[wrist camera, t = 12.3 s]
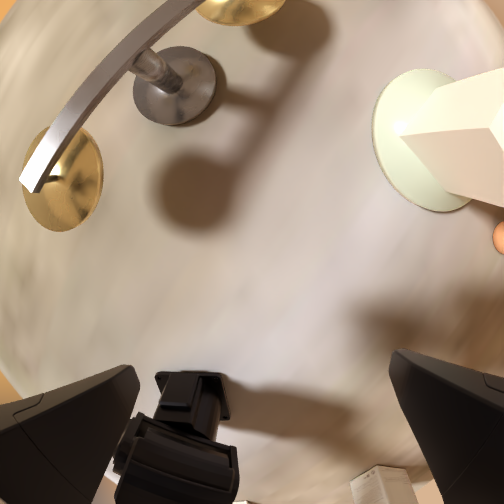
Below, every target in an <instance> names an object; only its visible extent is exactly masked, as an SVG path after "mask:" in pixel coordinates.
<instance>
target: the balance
mask: <svg viewBox="0 0 504 504" xmlns="http://www.w3.org/2000/svg"><path fill="white" fill-rule="evenodd" d="M284 2H285V0H168V1H166V2H165V3H164V4H163V5H161V6H160V7H159V8H158V9H156V10H155V11H154V12H153V13H152V14H150V15H149V16H148V17H147V18H146V19H145V20H143V21H142V22H141V23H140V24H139V25H138V26H137V27H136V28H134V29H133V30H132V31H131V32H130V33H129V34H128V35H127V36H126V37H125V38H124V39H123V40H122V41H121V42H120V43H119V44H118V45H117V46H116V47H115V48H114V49H113V50H112V51H111V52H110V53H109V54H108V55H107V56H106V57H105V58H104V59H103V60H102V62H101V63H100V64H99V65H98V66H97V67H96V68H95V69H94V70H93V72H92V73H91V74H90V75H89V76H88V77H87V79H86V80H85V81H84V82H83V83H82V85H81V86H80V87H79V88H78V90H77V91H76V92H75V93H74V95H73V96H72V97H71V99H70V100H69V101H68V103H67V104H66V105H65V107H64V108H63V109H62V111H61V112H60V113H59V115H58V116H57V118H56V119H55V121H54V122H53V123H52V125H51V126H49V127H47V128H45V129H44V130H43V131H41V132H40V133H39V134H38V135H37V137H36V138H35V139H34V140H33V142H32V143H31V145H30V147H29V149H28V151H27V154H26V156H25V160H24V164H23V170H22V175H21V177H20V179H19V180H20V181H21V182H22V188H23V194H24V198H25V202H26V204H27V207H28V209H29V211H30V213H31V214H32V216H33V217H34V218H35V219H36V221H37V222H38V223H39V224H41V225H42V226H43V227H45V228H47V229H49V230H52V231H56V232H63V231H68V230H70V229H73V228H75V227H77V226H79V225H81V224H82V223H84V222H85V221H86V220H87V219H88V218H89V217H90V216H91V214H92V213H93V211H94V210H95V208H96V206H97V204H98V202H99V199H100V196H101V192H102V187H103V175H104V172H103V162H102V157H101V154H100V150H99V148H98V146H97V144H96V142H95V140H94V139H93V137H92V136H91V135H90V134H89V133H88V132H87V131H86V130H85V129H83V128H82V127H81V126H82V125H83V124H84V122H85V121H86V120H87V118H88V117H89V116H90V114H91V113H92V112H93V111H94V109H95V108H96V107H97V105H98V104H99V103H100V102H101V100H102V99H103V98H104V97H105V96H106V94H107V93H108V92H109V91H110V90H111V89H112V87H113V86H114V85H115V84H116V83H117V82H118V81H119V79H120V78H121V77H122V76H123V75H124V74H125V73H126V72H127V71H130V72H132V73H134V74H135V75H136V78H135V81H134V86H133V97H134V101H135V104H136V106H137V108H138V110H139V111H140V112H141V114H142V115H144V116H145V117H146V118H148V119H149V120H151V121H153V122H156V123H160V124H163V125H178V124H182V123H186V122H188V121H190V120H192V119H194V118H196V117H197V116H199V115H200V114H201V113H202V112H203V111H204V110H205V109H206V108H207V107H208V105H209V104H210V102H211V100H212V99H213V96H214V94H215V90H216V84H217V81H216V73H215V70H214V68H213V66H212V64H211V63H210V61H209V60H208V58H207V57H206V56H205V55H204V54H202V53H201V52H200V51H198V50H196V49H193V48H190V47H184V46H177V47H170V48H167V49H164V50H161V51H159V52H157V53H155V52H154V51H153V50H152V49H150V47H151V46H152V45H153V44H155V43H156V42H157V41H158V40H159V39H160V38H161V37H162V36H163V35H164V34H165V33H167V32H168V31H169V30H170V29H171V28H172V27H173V26H175V25H176V24H177V23H178V22H179V21H181V20H182V19H183V18H184V17H185V16H187V15H188V14H189V13H190V12H192V11H193V10H194V9H196V11H197V12H198V13H199V14H200V15H201V16H202V17H204V18H205V19H207V20H209V21H211V22H214V23H217V24H221V25H227V26H244V25H250V24H254V23H258V22H261V21H263V20H265V19H267V18H269V17H271V16H273V15H274V14H275V13H276V12H278V11H279V10H280V9H281V7H282V6H283V4H284Z"/></svg>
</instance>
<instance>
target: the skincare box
mask: <svg viewBox="0 0 504 504" xmlns="http://www.w3.org/2000/svg"><path fill="white" fill-rule="evenodd" d="M350 487H351V491H352V495H353V499H354V503H355V504H418V502H417V499H416V496H415V493H414V490H413V488H412V485H411V482H410V480H409V477H408V475H407V472H406V469H400V468H392V467H385V466H378V465H377V466H375V467H373V468H372V469H370V470H369V471H367V472H365V473H364V474H362V475H360V476H358V477H356V478H355V479H353V480H351V481H350Z"/></svg>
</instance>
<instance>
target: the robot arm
mask: <svg viewBox="0 0 504 504" xmlns="http://www.w3.org/2000/svg"><path fill="white" fill-rule="evenodd" d="M389 376H390V379H391V382H392V384H393V387H394V390H395V393H396V396H397V399H398V402H399V404H400V407H401V409H402V411H403V413H404V415H405V417H406V419H407V421H408V423H409V425H410V427H411V429H412V431H413V433H414V435H415V438H416V440H417V442H418V444H419V446H420V448H421V450H422V452H423V455H424V457H425V459H426V461H427V463H428V466H429V468H430V470H431V472H432V475H433V477H434V479H435V482H436V484H437V486H438V488H439V491H440V493H441V495H442V498H443V501H444V504H504V378H503V377H499V376H495V375H491V374H487V373H482V372H479V371H475V370H472V369H469V368H465V367H462V366H459V365H455V364H452V363H449V362H445V361H442V360H439V359H436V358H432V357H429V356H426V355H423V354H420V353H417V352H414V351H411V350H407V349H404V348H402V349H397V350H394V351H393V352H392V356H391V361H390V366H389ZM160 377H161V378H160ZM215 378H218V379H215ZM155 380H156V382H157V385H158V388H159V390H160V393H161V397H160V400H159V404H158V407H157V409H156V412H155V414H154V416H153V419H152V418H150V417H147V416H145V415H144V414H143V413H141V412H138V414H137V415H136V417H133V418H132V419H130V417H131V414H132V411H133V408H134V405H135V402H136V399H137V396H138V393H139V390H140V382H139V379H138V377H137V374H136V372H135V369H134V367H133V366H132V365H120V366H117V367H115V368H112V369H110V370H107V371H104V372H102V373H99V374H96V375H94V376H91V377H88V378H86V379H83V380H80V381H77V382H74V383H72V384H69V385H66V386H63V387H60V388H57V389H55V390H52V391H49V392H46V393H45V394H44V393H42V394H39V395H36V396H32V397H29V398H26V399H22V400H19V401H15V402H11V403H7V404H3V405H0V504H91V502H92V501H93V498H94V496H95V494H96V491H97V489H98V487H99V485H100V482H101V480H102V478H103V476H104V473H105V471H106V469H107V467H108V464H109V462H110V460H111V458H112V456H113V458H114V461H113V464H114V467H113V472H114V473H116V474H118V475H120V476H121V477H120V480H119V483H118V485H117V488H116V491H115V494H114V499H115V502H116V504H233V502H234V500H235V498H236V495H237V492H238V488H239V480H240V479H239V468H238V458H237V448H236V447H235V446H231V445H230V446H228V445H224V444H221V443H218V442H216V436H217V430H218V425H219V420H229V419H230V416H231V414H230V410H229V406H228V402H227V398H226V393H225V389H224V385H223V380H222V376H221V375H220V374H218V373H174V372H157V373H156V375H155Z"/></svg>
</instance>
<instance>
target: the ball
mask: <svg viewBox="0 0 504 504" xmlns="http://www.w3.org/2000/svg"><path fill="white" fill-rule="evenodd" d="M493 242H494V245H495V247H496V249H497V250H498V251H499V252H500V253H502V254H504V221H503V222H501V223H499V224H498V225H497V226H496V228H495V230H494V233H493Z"/></svg>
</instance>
